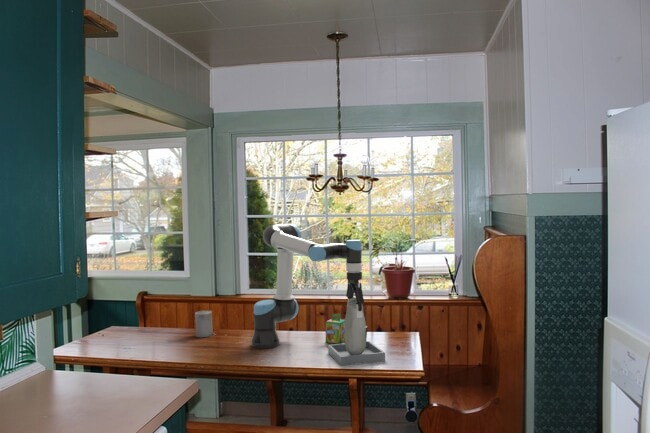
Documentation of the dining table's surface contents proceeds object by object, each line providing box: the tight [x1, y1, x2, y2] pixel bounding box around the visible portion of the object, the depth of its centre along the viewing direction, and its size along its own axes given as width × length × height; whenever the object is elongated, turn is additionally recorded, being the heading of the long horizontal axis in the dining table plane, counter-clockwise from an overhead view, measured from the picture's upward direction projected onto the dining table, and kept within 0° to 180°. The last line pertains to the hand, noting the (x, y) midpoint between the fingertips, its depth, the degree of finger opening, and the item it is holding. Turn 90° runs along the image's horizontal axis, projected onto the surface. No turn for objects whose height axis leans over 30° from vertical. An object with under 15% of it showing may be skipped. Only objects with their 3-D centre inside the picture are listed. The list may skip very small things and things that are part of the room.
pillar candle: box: [194, 309, 214, 338], centre depth 308 cm, size 10×10×15 cm
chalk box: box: [325, 313, 345, 344], centre depth 289 cm, size 9×9×15 cm
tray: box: [327, 340, 386, 366], centre depth 259 cm, size 22×22×4 cm
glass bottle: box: [344, 297, 367, 355], centre depth 259 cm, size 10×10×28 cm
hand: (355, 314), depth 259 cm, fingers open, 13 cm apart
